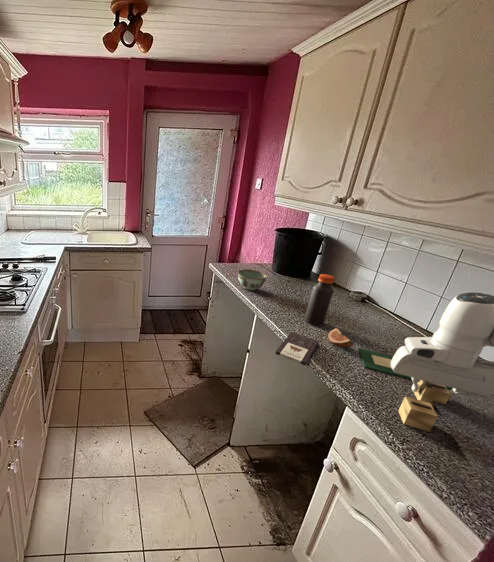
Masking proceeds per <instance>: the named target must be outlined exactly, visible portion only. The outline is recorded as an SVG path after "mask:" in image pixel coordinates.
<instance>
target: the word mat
mask: <svg viewBox="0 0 494 562" xmlns="http://www.w3.org/2000/svg"><path fill="white" fill-rule="evenodd" d="M357 350H358V353H359V356H360V360H361V362H362V365H363V368H364V369H368V370H372V371H376V372H379V373H384V374H387V375H390V376H394V377H398V378H403V379H406V380H410V381H412V379H411V377H409V376H405V375H401V374H397V373H395V372H394V371H393V369H392V368H391V365H390V363H391V360H392V358H393V356H394V355H390V354H386V353H381V352H377V351H373V350H369V349H365V348H360V347H358V348H357ZM445 387H446V388H447V390H448V391H450V390H452V389H453V388H451V387H448V386H445Z"/></svg>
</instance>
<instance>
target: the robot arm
mask: <svg viewBox="0 0 494 562" xmlns="http://www.w3.org/2000/svg"><path fill="white" fill-rule="evenodd" d="M484 347H492V348H494V295H492V294H488V293H483V292H464V293H460V294H458V295H456V296H455V297H453V298H452V299H451V300H450V302H449V303H448V305H447V307H446V308H445V310H444V312H443V313H442V315H441V317H440V319H439V326H438V329H437V330H436V331H435V332H434V333H433V334H432V336H422V337H421V336H419V337H418V336H417V337H415V336H409V337H406V338H405V339H404V345H402V346H400V347H398V349H397V350H396V352H395V353H394V355H392V356H393V358H392V360H391V363H390V365H391V368H392V369H393V371H394V372H395V373H397V374H401V375H405V376H409V377H411V379H412V380H411V382H412V385H411V391H412V392H413V391H414V392H418V393H420V392H421V390H422V388H421V386H420V385H419V384H417V383H418V382H420V380H424V381H428V382H432V383H436V384H440V385H444V386H448V387H451V388H453V389H452V390H448V391H449V393H450V394H451V395H450V397H449V399H448V401H447V402H452V401H453V398H455V397H457V396H459V395H462V394H463V393H464V392H468V393H471V394H475V395H479V396H482V397H486V398H487V397H491V396H493V395H494V361H493V360H492V361H491V360H487V359H483V358H479V357H480V355H481V353H482V351H483V349H484ZM414 392H413V393H414Z"/></svg>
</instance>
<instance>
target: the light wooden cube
mask: <svg viewBox="0 0 494 562" xmlns="http://www.w3.org/2000/svg"><path fill="white" fill-rule="evenodd" d="M397 412H398V414H399V416H400V418H401V422H402V423H403V425H405V426H408V427H410V428H411V427H412V428H415V429H418V430H421V431H424V432H427V433H430V432H431V430H432V429H433V427H434V425H435V423H436V421H437V419H438V417H439V416H438V413H437V412H436V411H435V409H434V407H433V406H432V405H431V403H428V402H424V401H421V400H417V398H413V397H409V396H404V397H403V400H402V402H401V404H400V407H399V409H398V411H397Z"/></svg>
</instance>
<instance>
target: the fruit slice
mask: <svg viewBox="0 0 494 562" xmlns="http://www.w3.org/2000/svg"><path fill="white" fill-rule="evenodd" d="M327 338H328V340H329V342H330V343H331V344H333V346H336V347H340V348H350V347H352V346H354V343H353V342H352V341H351V339H350V338H348V337H347V336H346V335H345V334H343V332H342V331H340V329H338V328H337V327H335V328H334V329H333V328H332V329H331V330H330V331H329V332H328V334H327Z"/></svg>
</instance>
